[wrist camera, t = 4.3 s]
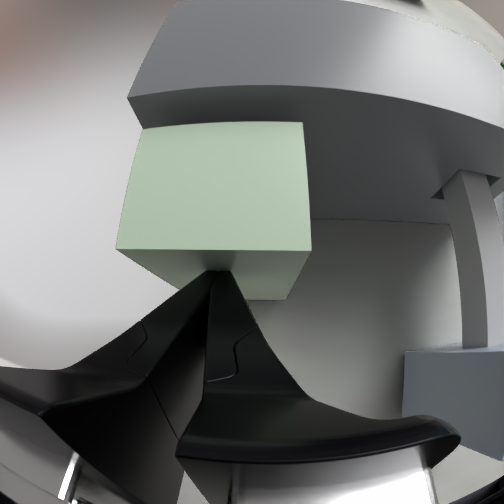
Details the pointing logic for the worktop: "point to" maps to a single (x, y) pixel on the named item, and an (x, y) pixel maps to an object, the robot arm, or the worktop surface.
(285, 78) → the grey curved block
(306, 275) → the worktop surface
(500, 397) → the grey key
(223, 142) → the green key
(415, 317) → the worktop surface
